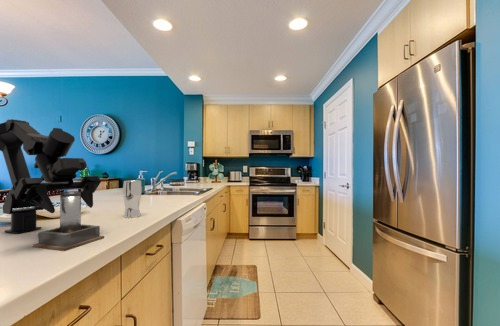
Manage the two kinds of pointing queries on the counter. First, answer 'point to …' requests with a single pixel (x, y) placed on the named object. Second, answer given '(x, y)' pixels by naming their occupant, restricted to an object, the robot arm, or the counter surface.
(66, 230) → the brushed metal canister
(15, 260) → the counter surface
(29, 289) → the counter surface
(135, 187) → the beer glass
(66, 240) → the socket
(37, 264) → the counter surface
